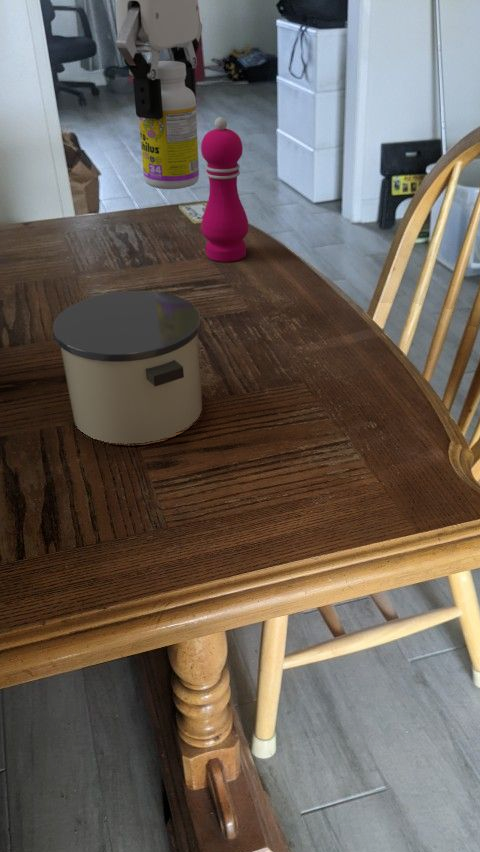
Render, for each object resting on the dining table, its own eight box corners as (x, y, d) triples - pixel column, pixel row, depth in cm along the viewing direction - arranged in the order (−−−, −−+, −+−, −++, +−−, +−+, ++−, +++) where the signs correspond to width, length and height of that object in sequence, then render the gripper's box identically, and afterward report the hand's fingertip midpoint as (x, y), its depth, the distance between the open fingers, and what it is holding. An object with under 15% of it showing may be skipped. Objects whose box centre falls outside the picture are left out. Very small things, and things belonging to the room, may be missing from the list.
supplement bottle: (136, 178, 96) (126, 61, 88) (187, 172, 98) (181, 57, 90) (155, 193, 91) (145, 70, 83) (207, 186, 93) (203, 66, 86)
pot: (109, 471, 77) (93, 374, 70) (45, 397, 88) (27, 308, 81) (236, 424, 83) (233, 332, 77) (162, 361, 94) (154, 276, 88)
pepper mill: (194, 259, 121) (185, 120, 109) (216, 243, 126) (210, 109, 114) (235, 266, 118) (231, 125, 106) (256, 250, 124) (254, 114, 112)
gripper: (167, -82, 87) (177, 95, 97) (72, -80, 74) (95, 123, 85) (227, -81, 84) (230, 100, 95) (139, -78, 71) (154, 131, 82)
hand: (167, 110), depth 90 cm, fingers closed on supplement bottle, 6 cm apart
